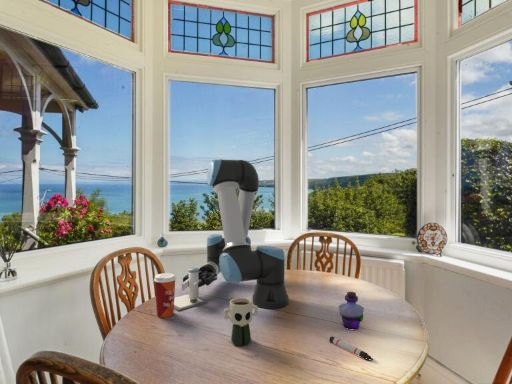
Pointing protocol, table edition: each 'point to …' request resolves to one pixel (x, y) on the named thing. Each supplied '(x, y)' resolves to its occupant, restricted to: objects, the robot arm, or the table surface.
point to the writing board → (186, 302)
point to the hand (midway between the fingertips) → (188, 287)
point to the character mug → (240, 319)
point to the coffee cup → (165, 294)
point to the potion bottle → (351, 311)
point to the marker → (349, 347)
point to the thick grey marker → (192, 279)
